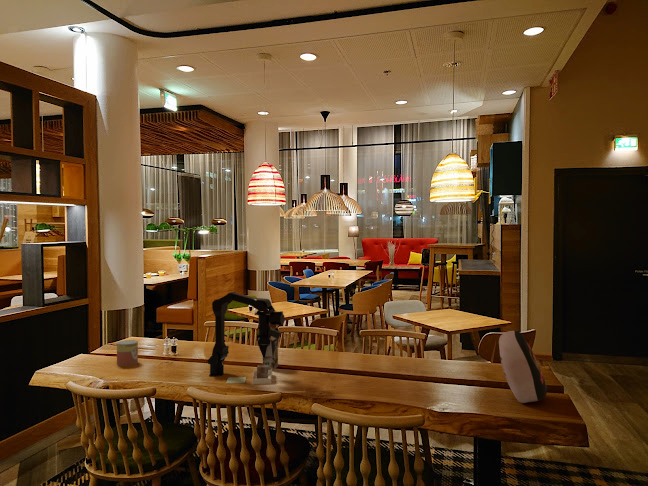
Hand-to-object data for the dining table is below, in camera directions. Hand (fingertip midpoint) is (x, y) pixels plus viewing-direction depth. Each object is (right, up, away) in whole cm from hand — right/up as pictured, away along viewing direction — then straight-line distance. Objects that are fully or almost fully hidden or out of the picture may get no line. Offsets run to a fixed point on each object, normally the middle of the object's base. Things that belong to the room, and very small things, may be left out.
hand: (264, 354), depth 237 cm
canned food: (-82, -12, +31) cm, 89 cm away
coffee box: (+1, -12, +21) cm, 24 cm away
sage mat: (-13, -12, -4) cm, 19 cm away
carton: (0, -12, -2) cm, 12 cm away
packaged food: (+118, -13, -30) cm, 123 cm away
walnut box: (0, -12, -2) cm, 12 cm away
